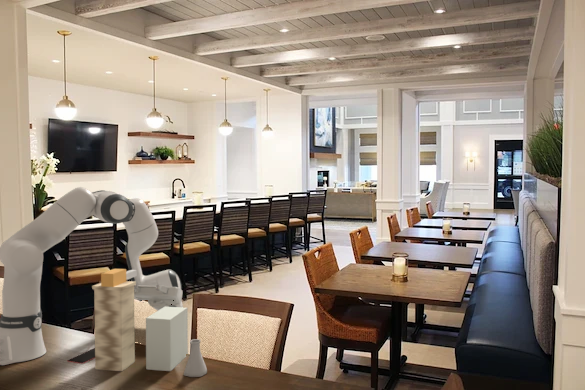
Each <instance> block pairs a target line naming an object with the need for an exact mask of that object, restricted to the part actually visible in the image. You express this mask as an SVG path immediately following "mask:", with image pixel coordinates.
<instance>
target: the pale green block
mask: <svg viewBox="0 0 585 390" xmlns="http://www.w3.org/2000/svg"><path fill="white" fill-rule="evenodd" d="M188 311H189V308H188V307H184V306H183V307H163V308H162V309H160V310H156V311H155V312H153V313H152V314H151V315H149V316H147V317H145V360H146V361H145V362H146V363H145V368H146V369H145V370H149V371H150V370H152V371H163V372H164V371H166V372H171V371H173V370H174V369H175V368H176V367H177V366H178V365H179V364H180V363H181V362H182V361H183V360H184V359H185V358H186V357H187V356H186V354H188V355H189V345H188V344H189V343H188V342H189V338H188V337H189V335H188V334H189V333H188V332H189V331H188V330H189V328H188V327H189V326H188V325H189V324H188V323H189V321H188V320H189V319H188V317H189V316H188V315H189V313H188Z"/></svg>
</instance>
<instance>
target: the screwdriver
mask: <svg viewBox="0 0 585 390" xmlns="http://www.w3.org/2000/svg"><path fill="white" fill-rule="evenodd" d="M135 276H137V270H129V269H128V270H127V269H126V268H112V269H110V270H107V271H104V272H101V273H100V283H101V286H103V287H114V286H117V285H119V284H122V283H124V282H126V281H128V280H131V278H133V277H135Z"/></svg>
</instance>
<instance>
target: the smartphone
mask: <svg viewBox="0 0 585 390" xmlns="http://www.w3.org/2000/svg"><path fill="white" fill-rule="evenodd" d="M92 360H95V347H93V348H91V349H89V350H86V351H85V352H82V353H80V354H77V355H76V356H74V357H71V358H69V359H67V360H66V361H67V362H68V363H73V364H81V365H83V364H86V363H88V362H90V361H92Z"/></svg>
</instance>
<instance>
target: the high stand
mask: <svg viewBox="0 0 585 390" xmlns="http://www.w3.org/2000/svg"><path fill="white" fill-rule="evenodd" d="M134 285H136V281H130V280H129V281H128V280H126V282H124V283H122V284H119V285H117V286H114V287H103V286H101V282H99V283H96V284H94V285H91V288H92V290H93V291H94V293H93V294H94V297H93V299H94V306H93V307H94V348H95V358H94V360H95V361H94V363H95V364H94V365H95V368H94V369H95V370H100V371H114V372H123V371H125V370H126V369H127V368H128V367H130V366H131V365H133V364H134V363H135V361H136V355H135V354H136V352H135V350H136V347H135V346H136V345H135V344H136V343H135V341H136V340H135V338H136V337H135V336H136V335H135V299H134Z"/></svg>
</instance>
